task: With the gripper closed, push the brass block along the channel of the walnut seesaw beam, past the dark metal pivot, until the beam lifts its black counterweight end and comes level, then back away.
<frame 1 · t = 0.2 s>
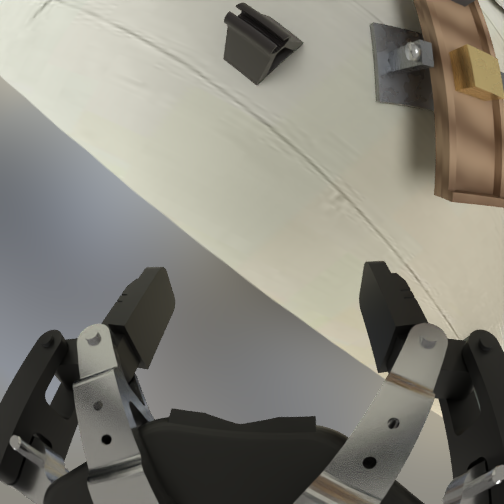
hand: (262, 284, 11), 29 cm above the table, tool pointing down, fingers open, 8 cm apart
pivot stand: (428, 72, 26), on the table
brass block: (467, 76, 18), point 10 cm above the table, tilted 8°, touching beam
phone stand: (263, 50, 29), on the table
beam: (468, 68, 17), point 10 cm above the table, hinge at -8.3°, touching brass block, counterweight
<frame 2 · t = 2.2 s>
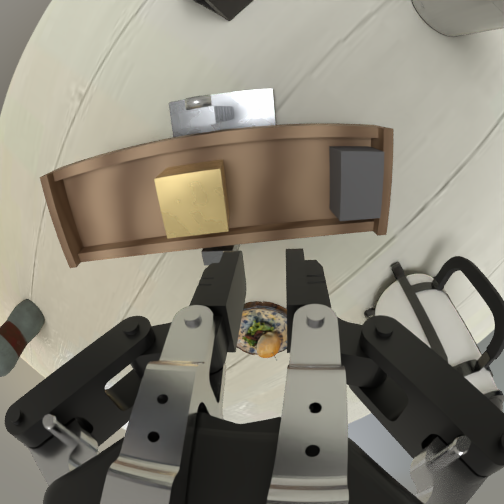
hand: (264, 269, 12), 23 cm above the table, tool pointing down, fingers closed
pivot stand: (229, 165, 32), on the table
brass block: (198, 190, 24), point 10 cm above the table, tilted 8°, touching beam
counterweight: (349, 177, 24), point 8 cm above the table, tilted 8°, touching beam
coffee press: (405, 288, 39), on the table
beam: (209, 190, 23), point 10 cm above the table, hinge at -8.3°, touching brass block, counterweight
burger: (262, 326, 46), on the table
bottle: (34, 310, 53), on the table
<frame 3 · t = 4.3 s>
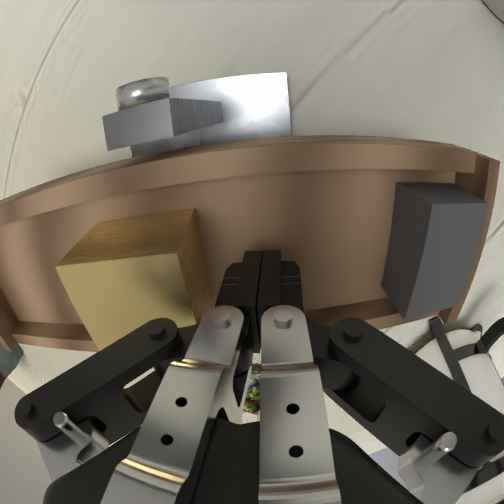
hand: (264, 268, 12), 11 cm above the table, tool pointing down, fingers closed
pivot stand: (217, 194, 21), on the table
brass block: (154, 262, 13), point 10 cm above the table, tilted 8°, touching beam, gripper
counterweight: (418, 235, 13), point 8 cm above the table, tilted 8°, touching beam
coffee press: (439, 341, 28), on the table
beam: (172, 265, 12), point 10 cm above the table, hinge at -8.3°, touching brass block, counterweight
burger: (263, 385, 35), on the table
bottle: (11, 341, 43), on the table
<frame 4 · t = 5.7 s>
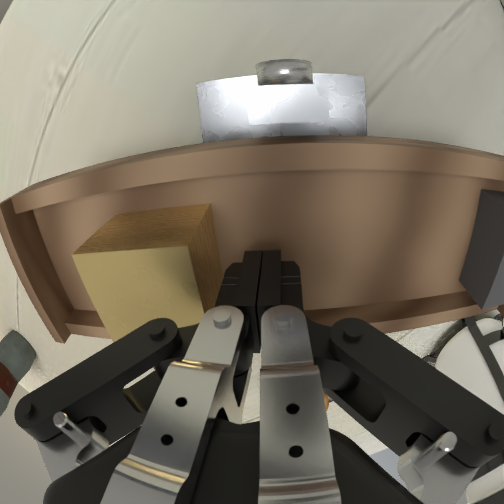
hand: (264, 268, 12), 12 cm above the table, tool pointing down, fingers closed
pivot stand: (288, 187, 21), on the table
brass block: (170, 255, 13), point 10 cm above the table, touching beam, gripper
counterweight: (490, 236, 12), point 9 cm above the table, touching beam
coffee press: (466, 331, 28), on the table
beam: (295, 252, 12), point 10 cm above the table, hinge at -2.7°, touching brass block, counterweight
bottle: (24, 343, 42), on the table
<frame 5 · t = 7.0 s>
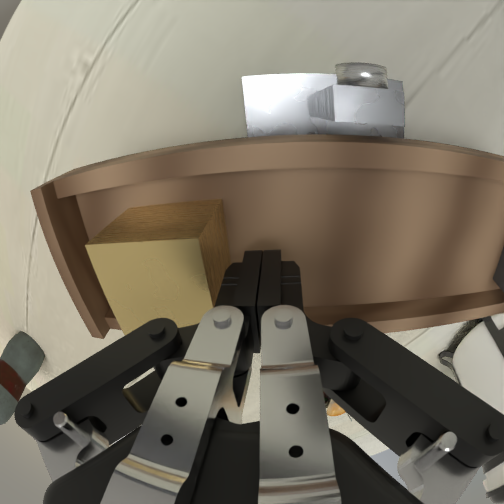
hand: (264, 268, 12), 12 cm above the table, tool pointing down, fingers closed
pivot stand: (327, 185, 21), on the table
brass block: (181, 248, 14), point 10 cm above the table, touching beam, gripper
coffee press: (480, 326, 28), on the table
beam: (361, 247, 12), point 10 cm above the table, hinge at 0.2°, touching brass block, counterweight
bottle: (32, 344, 42), on the table
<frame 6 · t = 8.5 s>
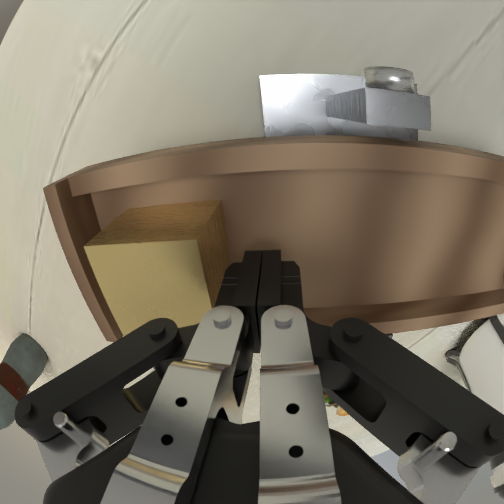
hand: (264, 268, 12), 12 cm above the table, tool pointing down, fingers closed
pivot stand: (342, 185, 21), on the table
brass block: (180, 249, 14), point 10 cm above the table, touching beam, gripper
coffee press: (486, 325, 28), on the table
beam: (386, 247, 12), point 10 cm above the table, hinge at 0.2°, touching brass block, counterweight
bottle: (34, 346, 42), on the table
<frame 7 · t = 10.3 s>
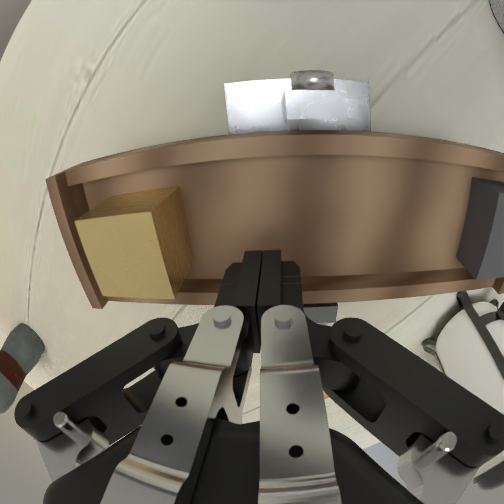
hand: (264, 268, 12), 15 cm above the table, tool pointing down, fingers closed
pivot stand: (302, 177, 24), on the table
brass block: (150, 227, 17), point 10 cm above the table, touching beam
counterweight: (483, 219, 14), point 10 cm above the table, touching beam
coffee press: (463, 315, 31), on the table
beam: (318, 222, 15), point 10 cm above the table, hinge at 0.2°, touching brass block, counterweight
bottle: (32, 336, 45), on the table
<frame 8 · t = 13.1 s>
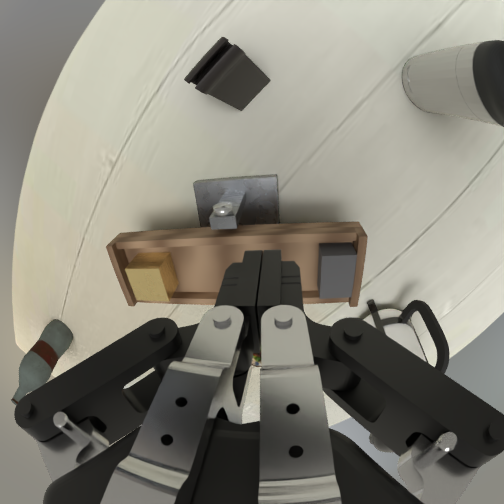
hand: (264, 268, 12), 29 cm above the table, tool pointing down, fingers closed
pivot stand: (241, 232, 43), on the table
brass block: (158, 268, 36), point 10 cm above the table, touching beam
phone stand: (231, 76, 32), on the table
counterweight: (333, 264, 33), point 10 cm above the table, touching beam
coffee press: (380, 317, 50), on the table
beam: (231, 269, 34), point 10 cm above the table, hinge at 0.2°, touching brass block, counterweight
bottle: (63, 328, 64), on the table
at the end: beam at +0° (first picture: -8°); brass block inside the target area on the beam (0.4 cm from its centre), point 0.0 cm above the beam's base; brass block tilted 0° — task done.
